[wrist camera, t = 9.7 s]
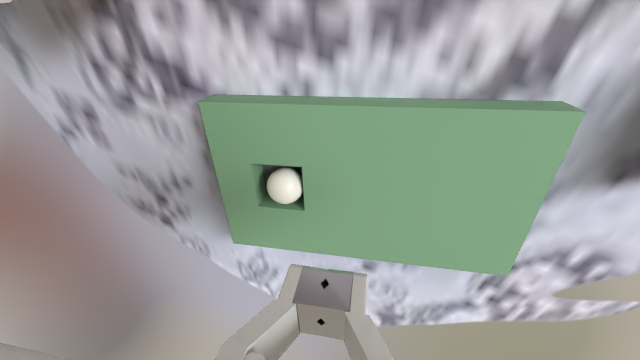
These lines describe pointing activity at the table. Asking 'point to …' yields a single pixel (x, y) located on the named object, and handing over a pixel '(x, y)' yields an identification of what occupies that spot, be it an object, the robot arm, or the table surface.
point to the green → (389, 174)
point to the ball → (285, 185)
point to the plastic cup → (5, 1)
